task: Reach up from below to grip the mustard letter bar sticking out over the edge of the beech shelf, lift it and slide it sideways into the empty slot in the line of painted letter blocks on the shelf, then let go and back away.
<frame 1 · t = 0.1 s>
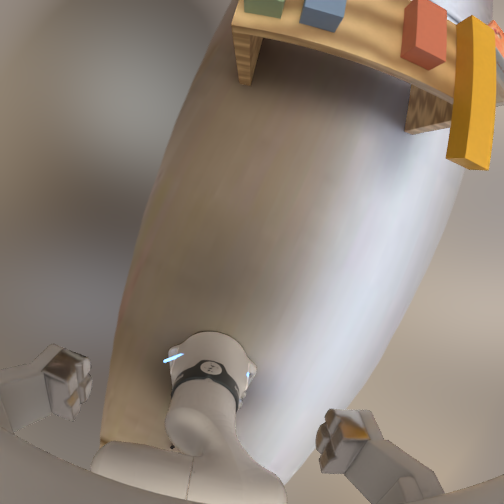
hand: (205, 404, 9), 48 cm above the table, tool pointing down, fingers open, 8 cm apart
block c: (417, 38, 26), point 24 cm above the table, touching shelf
block b: (322, 2, 26), point 24 cm above the table, touching shelf
letter bar: (466, 91, 28), point 24 cm above the table, touching shelf
cracker box: (451, 81, 49), on the table
shelf: (337, 77, 50), on the table
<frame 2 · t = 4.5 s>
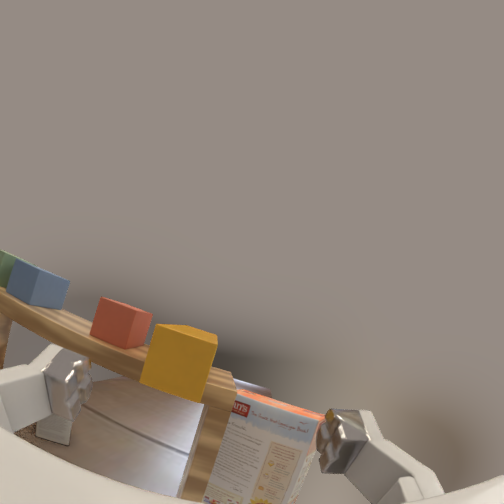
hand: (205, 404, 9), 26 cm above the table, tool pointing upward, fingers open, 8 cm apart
block c: (118, 340, 31), point 24 cm above the table, touching shelf
block b: (34, 301, 30), point 24 cm above the table, touching shelf
small box: (51, 432, 39), on the table
letter bar: (184, 371, 27), point 24 cm above the table, touching shelf
shelf: (56, 491, 24), on the table
block a: (2, 284, 30), point 24 cm above the table, touching shelf
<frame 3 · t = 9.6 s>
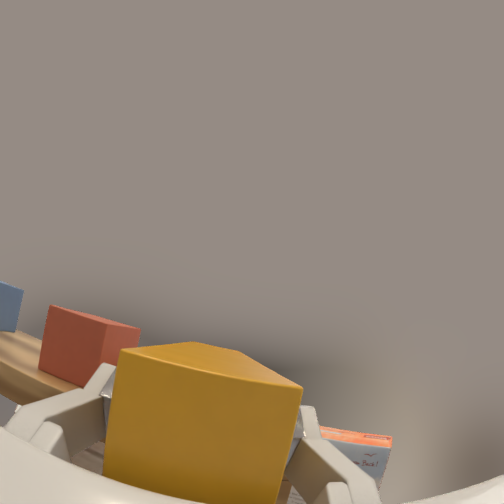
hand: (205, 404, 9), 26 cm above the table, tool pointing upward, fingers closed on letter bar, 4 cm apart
block c: (90, 374, 18), point 24 cm above the table, touching shelf
letter bar: (200, 422, 15), point 24 cm above the table, touching gripper, shelf
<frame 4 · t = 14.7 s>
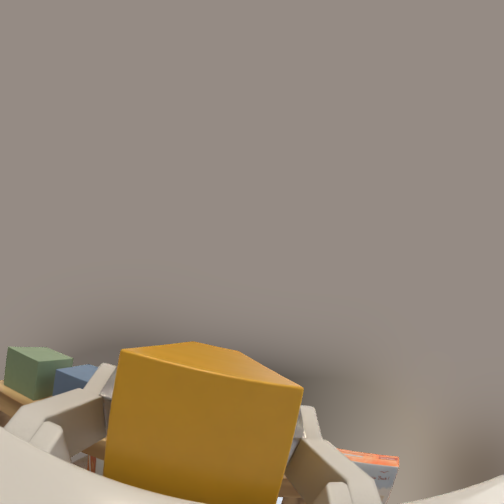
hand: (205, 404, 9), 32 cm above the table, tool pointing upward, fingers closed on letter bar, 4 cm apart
block b: (85, 409, 25), point 24 cm above the table, touching shelf
letter bar: (200, 422, 15), point 30 cm above the table, touching gripper
block a: (37, 388, 24), point 24 cm above the table, touching shelf
when the fingers open (26 cm above the table, at t = 19.7 s): letter bar stays where it is, resting on shelf.
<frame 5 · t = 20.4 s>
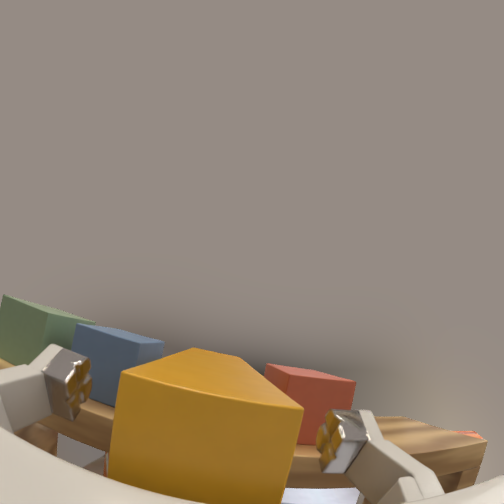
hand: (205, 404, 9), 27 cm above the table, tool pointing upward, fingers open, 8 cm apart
block c: (293, 427, 18), point 24 cm above the table, touching shelf
block b: (116, 390, 18), point 24 cm above the table, touching shelf
letter bar: (201, 430, 14), point 24 cm above the table, touching shelf
block a: (43, 362, 18), point 24 cm above the table, touching shelf
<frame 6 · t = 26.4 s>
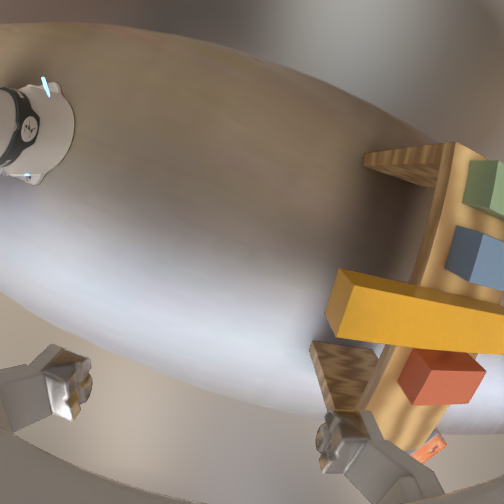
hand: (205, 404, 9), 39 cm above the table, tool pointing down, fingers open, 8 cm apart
block c: (434, 367, 26), point 24 cm above the table, touching shelf
block b: (478, 256, 24), point 24 cm above the table, touching shelf
letter bar: (428, 310, 25), point 24 cm above the table, touching shelf
cracker box: (370, 392, 55), on the table
shelf: (371, 266, 49), on the table
block a: (493, 195, 22), point 24 cm above the table, touching shelf
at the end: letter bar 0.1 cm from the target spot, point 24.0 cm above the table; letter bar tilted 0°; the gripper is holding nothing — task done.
